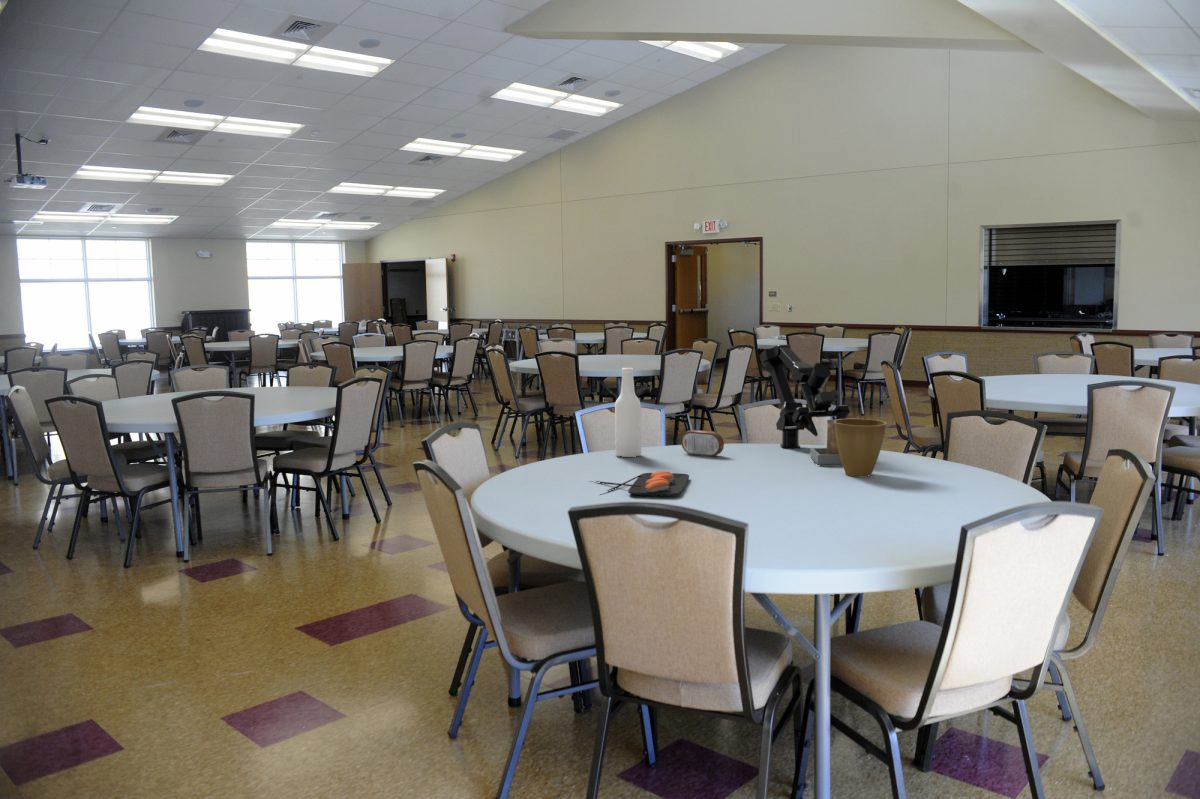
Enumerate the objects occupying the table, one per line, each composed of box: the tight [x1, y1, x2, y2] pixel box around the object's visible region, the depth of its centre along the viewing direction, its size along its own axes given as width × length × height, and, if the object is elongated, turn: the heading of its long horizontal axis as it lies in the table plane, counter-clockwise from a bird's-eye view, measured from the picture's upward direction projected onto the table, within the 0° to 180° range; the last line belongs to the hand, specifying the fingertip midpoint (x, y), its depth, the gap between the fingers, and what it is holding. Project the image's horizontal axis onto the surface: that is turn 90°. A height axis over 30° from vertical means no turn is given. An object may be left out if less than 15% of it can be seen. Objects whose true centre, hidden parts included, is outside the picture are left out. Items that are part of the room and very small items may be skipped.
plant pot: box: [834, 418, 887, 477], centre depth 272 cm, size 15×15×16 cm
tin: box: [680, 429, 725, 457], centre depth 310 cm, size 15×3×8 cm, turn 58°
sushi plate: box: [595, 470, 690, 497], centre depth 261 cm, size 29×30×4 cm
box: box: [809, 447, 842, 466], centre depth 294 cm, size 14×14×4 cm
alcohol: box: [614, 367, 642, 458], centre depth 310 cm, size 9×9×30 cm
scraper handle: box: [826, 418, 840, 455], centre depth 294 cm, size 4×4×13 cm
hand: (829, 434), depth 297 cm, fingers open, 9 cm apart
